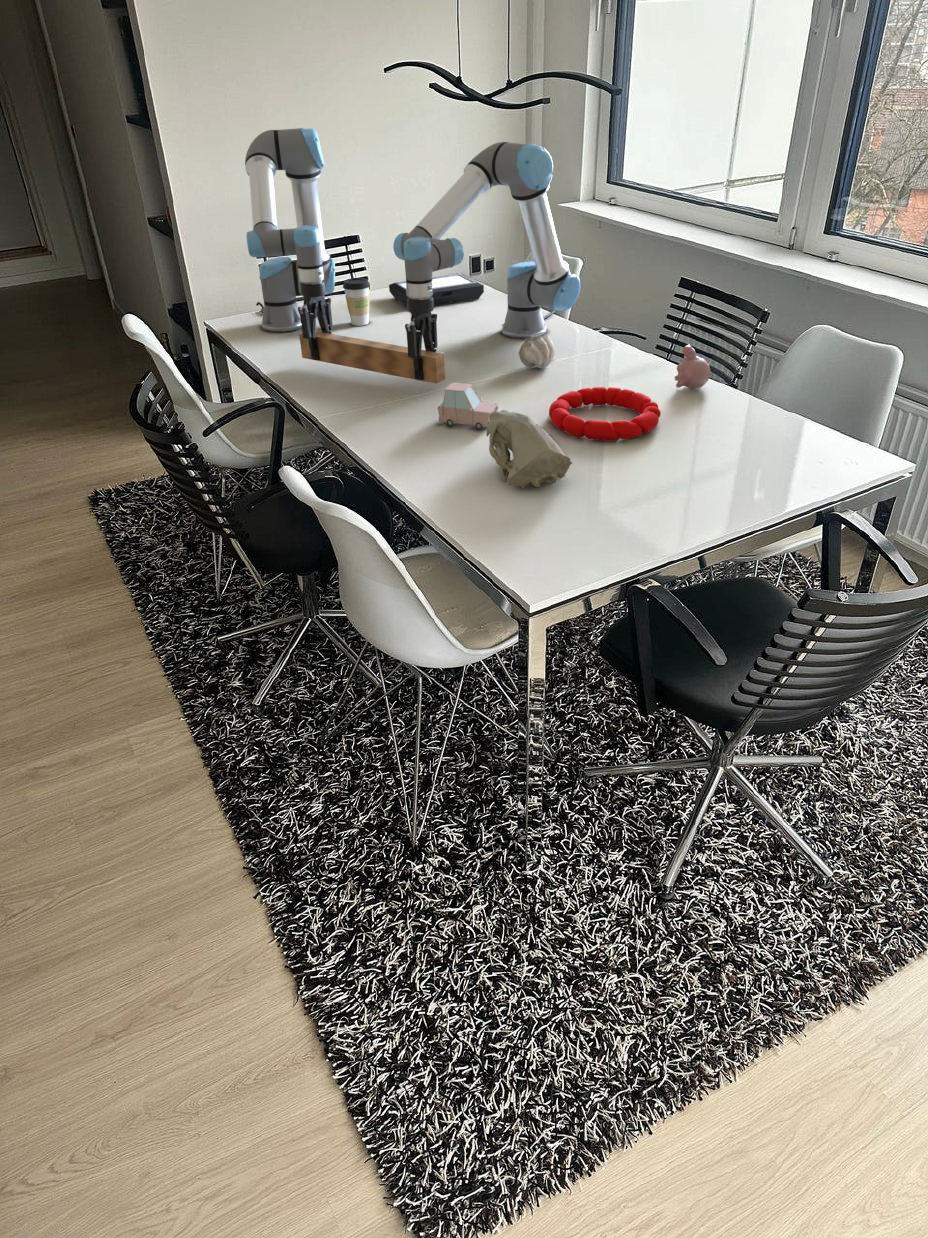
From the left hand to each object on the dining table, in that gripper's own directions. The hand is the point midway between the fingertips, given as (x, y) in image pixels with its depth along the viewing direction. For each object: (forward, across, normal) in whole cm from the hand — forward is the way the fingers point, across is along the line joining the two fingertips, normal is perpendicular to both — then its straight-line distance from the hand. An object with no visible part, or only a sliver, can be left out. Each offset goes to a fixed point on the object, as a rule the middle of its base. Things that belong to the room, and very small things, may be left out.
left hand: (321, 356), depth 285 cm
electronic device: (+3, +85, +11) cm, 85 cm away
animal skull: (+4, -37, -93) cm, 100 cm away
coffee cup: (+4, +45, +19) cm, 49 cm away
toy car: (+4, -17, -66) cm, 69 cm away
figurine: (+4, +36, -110) cm, 116 cm away
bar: (+1, 0, -20) cm, 20 cm away
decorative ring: (+4, +1, -99) cm, 99 cm away
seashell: (+4, +32, -62) cm, 70 cm away
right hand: (0, 0, -40) cm, 40 cm away
